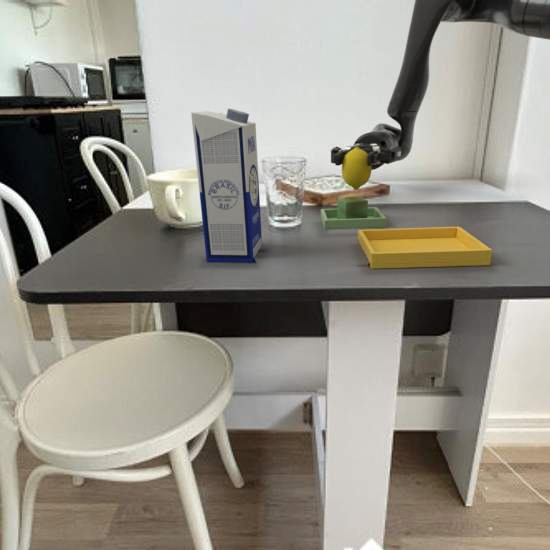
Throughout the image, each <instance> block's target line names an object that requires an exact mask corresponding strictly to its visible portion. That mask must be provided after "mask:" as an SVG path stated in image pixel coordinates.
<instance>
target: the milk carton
mask: <svg viewBox="0 0 550 550" xmlns="http://www.w3.org/2000/svg"><path fill="white" fill-rule="evenodd" d="M190 113H191V115H190V116H191V124H192V133H193V143H194V153H195V162H196V163H195V164H196V173H197V181H198V192H199V201H200V210H201V220H202V228H203V229H202V231H203V240H204V250H205V259H206V262H207V263H254V261H255V257H256V255H257V254H258V252H259V250H260V248H261V247H262V245H263V237H262V220H261V218H262V217H261V200H260V181H259V180H260V179H259V164H258V161H259V160H258V146H257V145H258V144H257V126H256V122H253V121H250V120H249V116H250V114H249V113H248V112H245V111H241V110H237V109H233V108H227V111H226V113H223V112H222V113H221V112H214V111H208V110H205V111H203V110H202V111H191V112H190Z"/></svg>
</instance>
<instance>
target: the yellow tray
mask: <svg viewBox="0 0 550 550" xmlns="http://www.w3.org/2000/svg"><path fill="white" fill-rule="evenodd" d="M357 241H358V243H359V245H360V247H361V248H362V251H363V252H364V254H365V256H366V259H367V260H368V266H369V268H370V269H371V270H374V269H378V270H379V269H410V268H440V267H441V268H443V267H475V266H479V267H480V266H481V267H482V266H490V265H491V261H492V254H493V248H490V247H489V246H487V245H486V244H485V243H483V242H482V241H481V240H479V239H478V238H476V237H475V236H473V235H472V234H471V233H470V232H468V231H467V230H465V229H464V228H462V227H461V226H438V227H436V226H435V227H433V226H432V227H406V228H404V227H403V228H401V227H400V228H370V229H358V230H357Z"/></svg>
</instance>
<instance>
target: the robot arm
mask: <svg viewBox="0 0 550 550" xmlns="http://www.w3.org/2000/svg"><path fill="white" fill-rule="evenodd" d="M469 22H470V23H489V24H493V25H496V26H498V27H501V28H503V29H505V30H507V31H509V32H512V33H515V34H519V35H522V36H525V37H530V38H537V39H541V40H542V39H543V40H549V41H550V0H414V5H413V10H412V15H411V19H410V24H409V29H408V33H407V38H406V43H405V49H404V52H403V53H404V54H403V58H402V63H401V66H400V70H399V74H398V76H397V80H396V82H395V86H394V88H393V91H392V94H391V97H390V99H389V102H388V105H387V108H386V113H387V115H388V117H389V118H391V119H392V120H394V121H395V122H396V123H397V124H398V125H399V126H400V128H397V127H395V126H392V125H390V124H388V123H382V122H380V123H378V124H376V125H375V126H374V127H373V129H372V130H371V131H369V132H366V133H363V134H361V135H360V136H358V138H357V139H356V140H355V141H354V143H353V144H352V145H348V146H347V145H346V146H345V148H343V149H342V147H340V146H333V147H332V149H330V163H331V164H334V165H335V166H342V163H343V160H344V157H345V156H346V154H347V153H348V152H350V151H351V150H353V149H354V148H355V147H359V148H360V149H361V150H363V151H365V152H366V153H367V154H368V155H367V166H371V171H374V170H377V169H379V168H380V167H383V166H384V165H385V164H386V165H389V164H392V163H395V162H400V161H402V160H404V159H407V157H408V156H409V154H410V153H411V151H412V149H413V143H414V142H413V141H414V132H415V125H416V121H417V117H418V113H419V111H420V109H421V106H422V105H423V101H424V98H425V97H426V93H427V90H428V87H429V82H430V54H431V47H432V44H433V41H434V37H435V34H436V32H437V30H438V29H439V26H440V24H441V23H469Z"/></svg>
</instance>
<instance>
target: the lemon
mask: <svg viewBox="0 0 550 550" xmlns="http://www.w3.org/2000/svg"><path fill="white" fill-rule="evenodd" d="M367 155H368V154H367V153H366V152H365V151H363V150H361V149H360V148H359V147H355V148H354V149H353V150H351V151H350V152H348V153H347V154H346V156H345V157H344V160H343V163H342V165H341V176H342V178H343V180H344V182H345V184H346V185H348V186H350V187H352V189H353V190H354V191H358V190H360V188H361V187H362V186H365V185H366V184H367V183H368V182H369V180H370V178H371V175H372V170H371V166H367Z"/></svg>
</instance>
